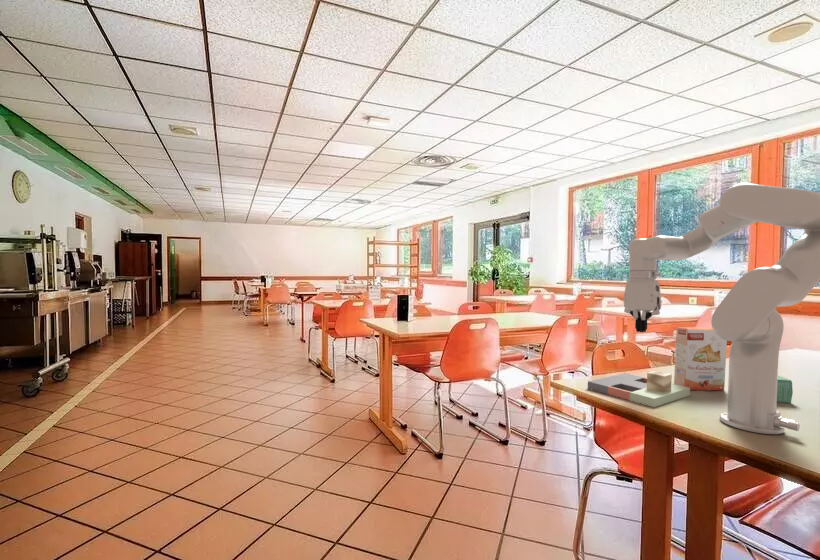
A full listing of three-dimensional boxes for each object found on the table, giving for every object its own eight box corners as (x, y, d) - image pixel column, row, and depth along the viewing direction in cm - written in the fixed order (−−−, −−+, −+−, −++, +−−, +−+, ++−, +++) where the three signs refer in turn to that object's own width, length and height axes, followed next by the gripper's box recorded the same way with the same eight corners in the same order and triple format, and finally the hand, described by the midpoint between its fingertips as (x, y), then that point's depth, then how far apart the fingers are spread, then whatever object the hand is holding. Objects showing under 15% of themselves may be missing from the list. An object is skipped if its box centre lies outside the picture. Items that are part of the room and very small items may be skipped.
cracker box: (685, 390, 132) (687, 328, 132) (673, 385, 138) (675, 326, 138) (726, 391, 133) (728, 329, 132) (711, 386, 139) (713, 327, 139)
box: (793, 403, 121) (793, 379, 121) (743, 400, 123) (744, 377, 123) (775, 396, 128) (775, 373, 128) (728, 394, 130) (729, 371, 130)
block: (671, 390, 124) (671, 374, 124) (664, 392, 121) (664, 376, 121) (654, 386, 128) (654, 370, 128) (646, 388, 125) (647, 372, 125)
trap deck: (689, 395, 127) (690, 387, 127) (653, 407, 115) (654, 398, 114) (624, 379, 145) (624, 373, 145) (587, 388, 132) (587, 381, 132)
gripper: (672, 276, 126) (671, 333, 126) (625, 276, 138) (624, 328, 138) (661, 276, 122) (660, 335, 122) (613, 276, 134) (612, 329, 134)
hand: (641, 331), depth 130 cm, fingers closed
